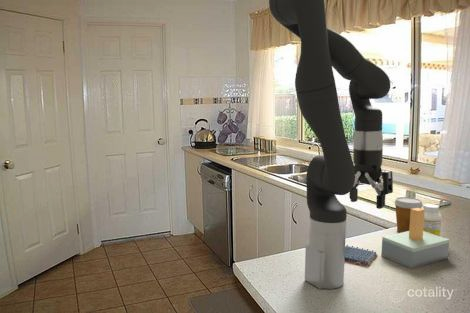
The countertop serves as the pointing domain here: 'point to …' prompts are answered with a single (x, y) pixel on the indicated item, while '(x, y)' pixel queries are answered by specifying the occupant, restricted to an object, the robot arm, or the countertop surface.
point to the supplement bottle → (432, 219)
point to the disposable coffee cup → (405, 211)
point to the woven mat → (359, 256)
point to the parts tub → (414, 254)
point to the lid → (416, 234)
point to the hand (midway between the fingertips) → (366, 204)
